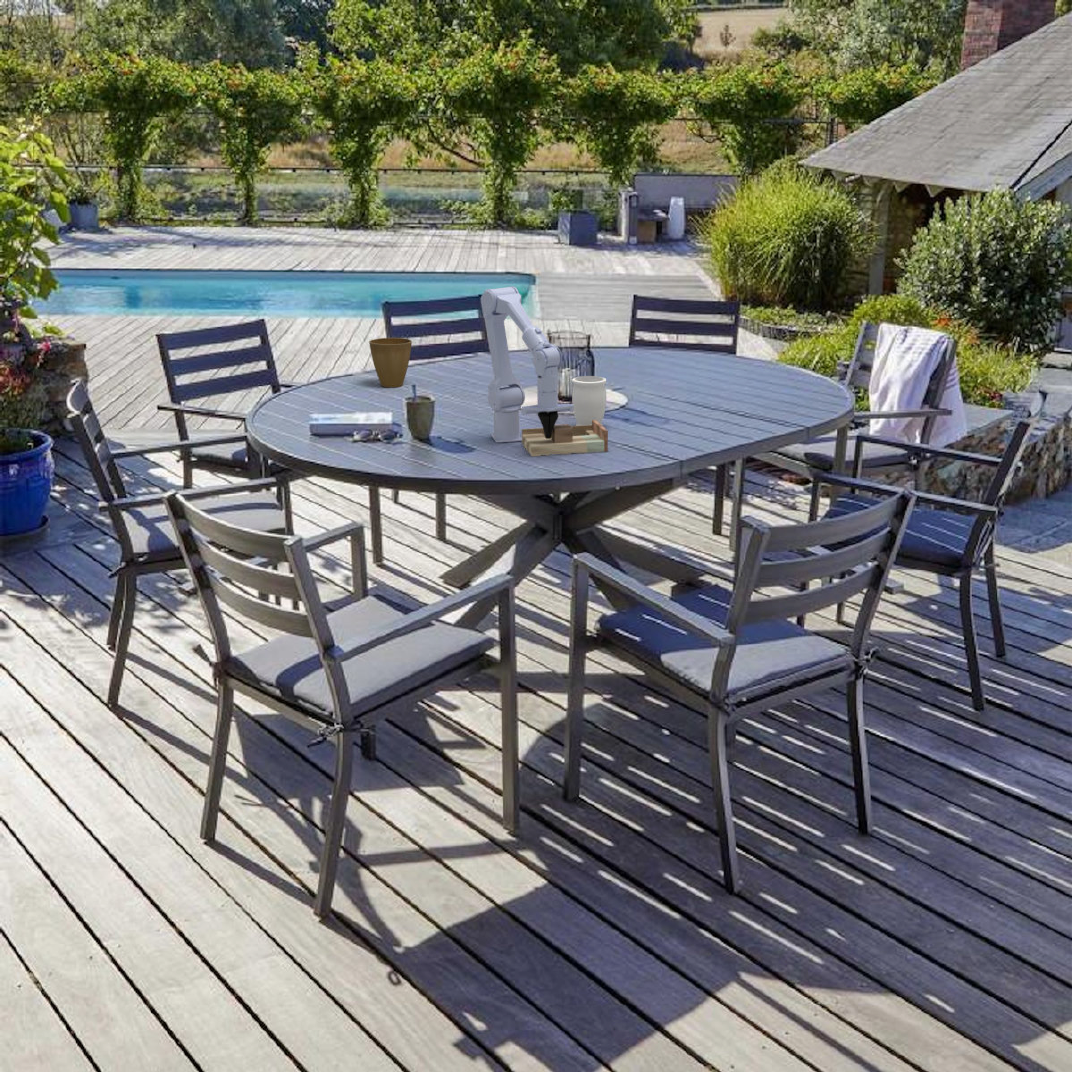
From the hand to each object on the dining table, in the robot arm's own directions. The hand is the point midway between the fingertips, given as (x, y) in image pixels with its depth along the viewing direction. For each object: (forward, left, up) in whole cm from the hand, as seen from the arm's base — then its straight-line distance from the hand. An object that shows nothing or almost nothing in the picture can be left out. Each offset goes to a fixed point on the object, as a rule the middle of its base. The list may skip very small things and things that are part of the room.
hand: (547, 437), depth 355 cm
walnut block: (0, +4, -1) cm, 4 cm away
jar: (-25, +18, -4) cm, 31 cm away
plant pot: (-103, -34, -4) cm, 108 cm away
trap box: (-3, +5, -4) cm, 7 cm away
